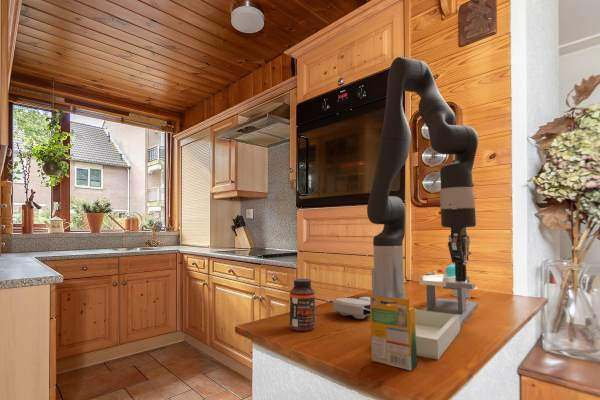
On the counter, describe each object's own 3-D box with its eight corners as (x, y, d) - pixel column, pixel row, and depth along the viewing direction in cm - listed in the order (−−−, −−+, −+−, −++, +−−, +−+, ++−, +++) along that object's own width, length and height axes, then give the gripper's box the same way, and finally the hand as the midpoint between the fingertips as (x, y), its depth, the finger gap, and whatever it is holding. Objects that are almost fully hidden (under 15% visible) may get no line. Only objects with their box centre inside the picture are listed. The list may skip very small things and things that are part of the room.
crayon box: (417, 365, 59) (415, 296, 60) (411, 371, 57) (409, 299, 58) (378, 356, 64) (376, 292, 65) (371, 361, 61) (369, 294, 62)
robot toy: (359, 309, 103) (324, 314, 93) (359, 293, 103) (325, 297, 93) (395, 317, 94) (361, 324, 84) (395, 300, 94) (361, 305, 84)
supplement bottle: (297, 333, 77) (296, 282, 78) (285, 327, 82) (285, 279, 83) (320, 329, 80) (319, 280, 81) (307, 323, 85) (307, 277, 86)
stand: (410, 322, 85) (409, 279, 86) (437, 301, 107) (436, 267, 108) (458, 329, 79) (456, 282, 79) (477, 305, 101) (475, 269, 101)
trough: (419, 292, 84) (419, 269, 85) (444, 287, 105) (444, 269, 106) (472, 298, 78) (471, 273, 79) (488, 291, 99) (487, 271, 99)
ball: (444, 277, 101) (444, 263, 102) (447, 278, 104) (447, 265, 105) (459, 278, 99) (459, 264, 100) (461, 279, 102) (462, 266, 103)
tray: (374, 346, 68) (374, 328, 69) (407, 322, 85) (406, 308, 85) (438, 359, 61) (437, 339, 62) (460, 330, 78) (459, 315, 78)
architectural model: (456, 295, 117) (455, 273, 117) (478, 298, 112) (477, 275, 112) (452, 297, 115) (451, 274, 115) (474, 300, 110) (473, 276, 110)
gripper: (447, 208, 90) (450, 276, 89) (434, 207, 79) (437, 283, 78) (479, 207, 86) (483, 278, 85) (469, 205, 75) (474, 286, 74)
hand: (461, 280), depth 81 cm, fingers closed
